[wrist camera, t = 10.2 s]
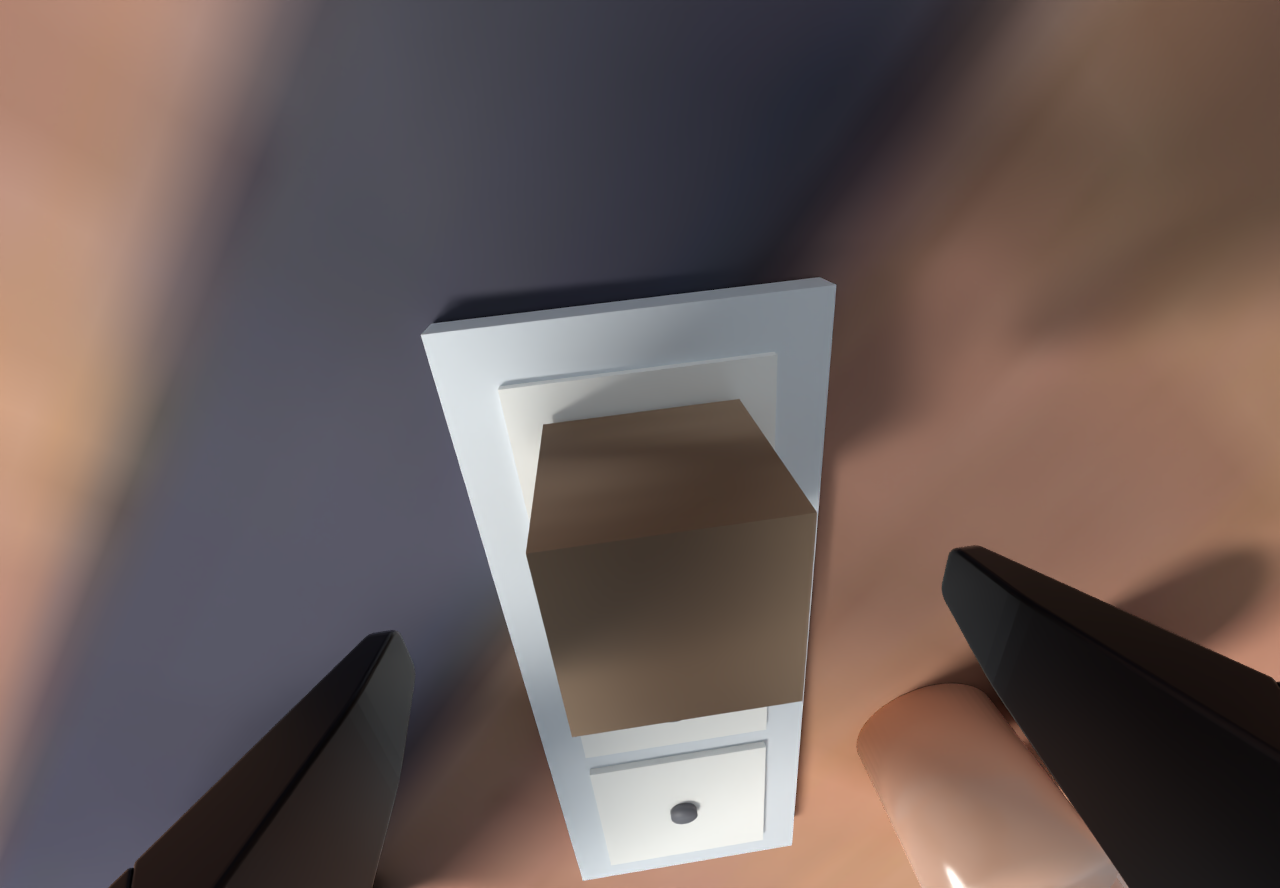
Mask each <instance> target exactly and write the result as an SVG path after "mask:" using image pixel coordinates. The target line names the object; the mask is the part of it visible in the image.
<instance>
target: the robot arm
mask: <svg viewBox="0 0 1280 888" xmlns="http://www.w3.org/2000/svg"><path fill="white" fill-rule="evenodd" d="M942 594H943V597H944V600H945V602H946V604H947V606H948V607H949V609H950V611H951V613H952V615H953V616H954V618H955V620H956V622H957V624H958V626H959V627H960V629H961V631H962V633H963V635H964V637H965V638H966V640H967V642H968V644H969V646H970V648H971V649H972V651H973V653H974V655H975V657H976V658H977V660H978V662H979V664H980V666H981V668H982V669H983V671H984V673H985V675H986V676H987V678H988V680H989V681H990V683H991V685H992V687H993V688H994V690H995V691H996V693H997V694H998V696H999V697H1000V699H1001V700H1002V702H1003V703H1004V705H1005V706H1006V708H1007V709H1008V711H1009V712H1010V714H1011V715H1012V717H1013V718H1014V720H1015V721H1016V723H1017V724H1018V725H1019V727H1020V728H1021V730H1022V731H1023V733H1024V734H1025V736H1026V737H1027V739H1028V740H1029V742H1030V743H1031V745H1032V746H1033V748H1034V749H1035V750H1036V752H1037V753H1038V755H1039V756H1040V758H1041V759H1042V761H1043V762H1044V764H1045V765H1046V767H1047V768H1048V770H1049V771H1050V773H1051V774H1052V776H1053V777H1054V778H1055V780H1056V781H1057V783H1058V784H1059V786H1060V787H1061V789H1062V790H1063V792H1064V793H1065V795H1066V796H1067V798H1068V799H1069V801H1070V802H1071V803H1072V805H1073V806H1074V808H1075V809H1076V811H1077V812H1078V814H1079V815H1080V817H1081V818H1082V820H1083V821H1084V823H1085V824H1086V826H1087V827H1088V829H1089V830H1090V831H1091V833H1092V834H1093V836H1094V837H1095V839H1096V840H1097V842H1098V843H1099V845H1100V846H1101V848H1102V849H1103V851H1104V852H1105V854H1106V855H1107V857H1108V858H1109V859H1110V861H1111V862H1112V864H1113V865H1114V867H1115V868H1116V870H1117V871H1118V873H1119V874H1120V876H1121V877H1122V879H1123V880H1124V882H1125V883H1126V884H1127V886H1128V887H1129V888H1280V682H1276V681H1275V680H1274V679H1273V678H1272V677H1270V676H1268V675H1265V674H1263V673H1261V672H1259V671H1256V670H1254V669H1252V668H1250V667H1248V666H1245V665H1243V664H1241V663H1239V662H1236V661H1234V660H1232V659H1230V658H1228V657H1225V656H1223V655H1221V654H1219V653H1217V652H1214V651H1212V650H1210V649H1208V648H1205V647H1203V646H1201V645H1199V644H1197V643H1194V642H1192V641H1190V640H1188V639H1185V638H1183V637H1181V636H1179V635H1177V634H1174V633H1172V632H1170V631H1168V630H1166V629H1163V628H1161V627H1159V626H1157V625H1154V624H1152V623H1150V622H1148V621H1146V620H1143V619H1141V618H1139V617H1137V616H1134V615H1132V614H1130V613H1128V612H1126V611H1123V610H1121V609H1119V608H1117V607H1115V606H1112V605H1110V604H1108V603H1106V602H1103V601H1101V600H1099V599H1097V598H1095V597H1092V596H1090V595H1088V594H1086V593H1083V592H1081V591H1079V590H1077V589H1075V588H1072V587H1070V586H1068V585H1066V584H1064V583H1061V582H1059V581H1057V580H1055V579H1052V578H1050V577H1048V576H1046V575H1044V574H1041V573H1039V572H1037V571H1035V570H1032V569H1030V568H1028V567H1026V566H1024V565H1021V564H1019V563H1017V562H1015V561H1013V560H1010V559H1008V558H1006V557H1004V556H1001V555H999V554H997V553H995V552H993V551H990V550H988V549H986V548H984V547H981V546H975V545H973V546H966V547H959V548H955V549H953V550H952V551H951V552H950V553H949V556H948V560H947V564H946V568H945V573H944V577H943V581H942ZM414 682H415V668H414V664H413V662H412V659H411V657H410V655H409V652H408V650H407V648H406V646H405V643H404V641H403V639H402V636H401V635H400V633H399V632H397V631H395V630H390V631H383V632H377V633H372V634H369V635H368V636H367V637H365V638H364V639H363V640H362V641H361V642H360V643H359V644H358V645H357V646H356V647H355V648H354V649H353V650H352V651H351V652H350V653H349V654H348V655H347V656H346V657H345V658H344V659H343V660H342V661H341V662H340V663H339V664H338V665H337V666H335V667H334V668H333V669H332V670H331V671H330V672H329V673H328V674H327V675H326V676H325V677H324V678H323V679H322V680H321V681H320V682H319V683H318V684H317V685H316V686H315V687H314V688H313V689H312V690H311V691H310V692H309V693H308V694H307V695H306V696H305V697H304V698H303V699H302V700H301V701H300V702H299V703H298V704H297V705H295V706H294V707H293V708H292V709H291V710H290V711H289V712H288V713H287V714H286V715H285V716H284V717H283V718H282V719H281V720H280V721H279V722H278V723H277V724H276V725H275V726H274V727H273V728H272V729H271V730H270V731H269V732H268V733H267V734H266V735H265V736H264V737H263V738H262V739H261V740H260V741H259V742H258V743H257V744H256V745H254V746H253V747H252V748H251V749H250V750H249V751H248V752H247V753H246V754H245V755H244V756H243V757H242V758H241V759H240V760H239V761H238V762H237V763H236V764H235V765H234V766H233V767H232V768H231V769H230V770H229V771H228V772H227V773H226V774H225V775H224V776H223V777H222V778H221V779H220V780H219V781H218V782H217V783H216V784H215V785H213V786H212V787H211V788H210V789H209V790H208V791H207V792H206V793H205V794H204V795H203V796H202V797H201V798H200V799H199V800H198V801H197V802H196V803H195V804H194V805H193V806H192V807H191V808H190V809H189V810H188V811H187V812H186V813H185V814H184V815H183V816H182V817H181V818H180V819H179V820H178V821H177V822H176V823H175V824H173V825H172V826H171V827H170V828H169V829H168V830H167V831H166V832H165V833H164V834H163V835H162V836H161V837H160V838H159V839H158V840H157V841H156V842H155V843H154V844H153V845H152V846H151V847H150V848H149V849H148V850H147V851H146V852H145V853H144V854H143V855H142V856H141V857H140V858H139V859H138V860H137V861H136V862H135V865H134V868H129V869H127V870H126V871H125V872H124V873H123V874H122V875H121V876H120V877H119V878H118V879H117V880H116V881H115V882H114V883H113V884H112V885H111V886H110V887H109V888H372V887H373V883H374V879H375V875H376V871H377V867H378V863H379V859H380V855H381V852H382V848H383V844H384V840H385V836H386V832H387V828H388V824H389V820H390V817H391V813H392V809H393V805H394V801H395V797H396V793H397V788H398V784H399V780H400V774H401V768H402V763H403V756H404V749H405V743H406V736H407V729H408V723H409V716H410V709H411V703H412V696H413V689H414Z"/></svg>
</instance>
